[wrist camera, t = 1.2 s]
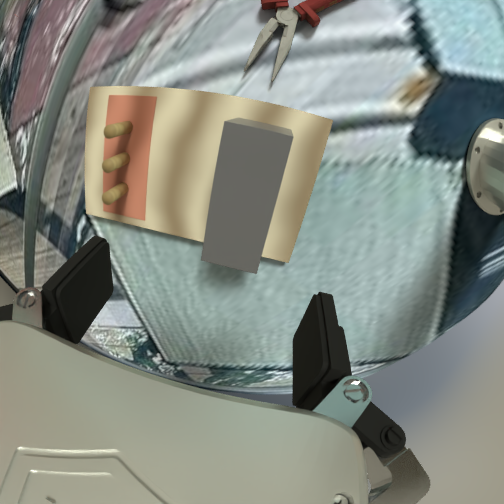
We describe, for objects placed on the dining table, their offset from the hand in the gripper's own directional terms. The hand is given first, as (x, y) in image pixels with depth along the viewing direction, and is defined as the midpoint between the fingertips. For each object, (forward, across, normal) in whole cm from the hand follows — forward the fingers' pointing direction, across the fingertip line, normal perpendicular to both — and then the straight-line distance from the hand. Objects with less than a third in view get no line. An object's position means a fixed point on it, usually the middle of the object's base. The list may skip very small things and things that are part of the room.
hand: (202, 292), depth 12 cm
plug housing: (+17, 0, 0) cm, 17 cm away
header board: (+19, +7, 0) cm, 20 cm away
